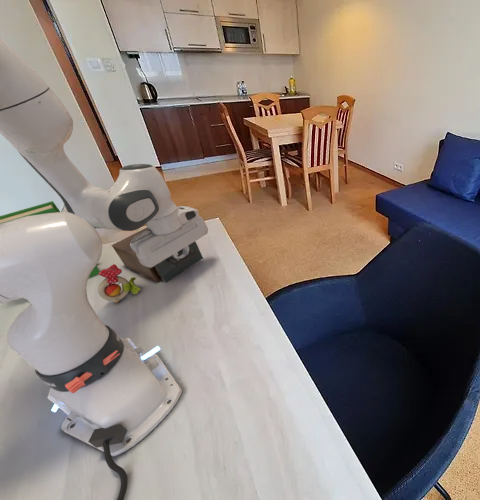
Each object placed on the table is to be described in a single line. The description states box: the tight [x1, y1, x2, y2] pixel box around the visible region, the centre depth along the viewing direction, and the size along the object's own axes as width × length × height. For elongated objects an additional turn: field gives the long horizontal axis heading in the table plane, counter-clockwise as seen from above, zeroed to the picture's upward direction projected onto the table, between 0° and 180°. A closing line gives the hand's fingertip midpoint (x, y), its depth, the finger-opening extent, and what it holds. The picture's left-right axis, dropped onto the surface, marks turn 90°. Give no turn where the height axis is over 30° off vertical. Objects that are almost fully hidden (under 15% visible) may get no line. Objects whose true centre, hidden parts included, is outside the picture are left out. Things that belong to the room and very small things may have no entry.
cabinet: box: [111, 227, 163, 283], centre depth 100 cm, size 20×15×9 cm
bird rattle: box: [97, 263, 142, 303], centre depth 86 cm, size 6×11×9 cm
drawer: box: [152, 241, 204, 284], centre depth 97 cm, size 23×13×7 cm, turn 59°
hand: (184, 260), depth 92 cm, fingers closed
